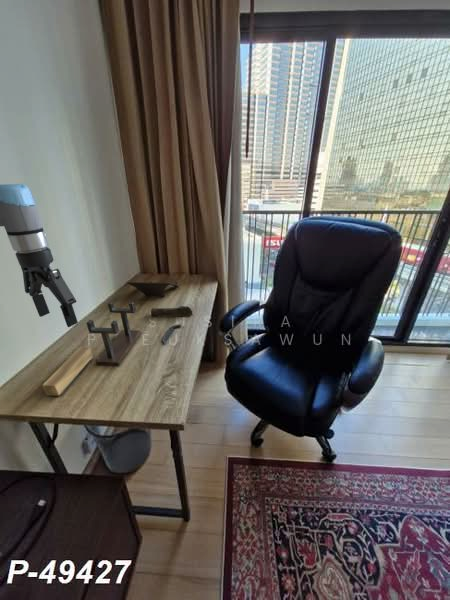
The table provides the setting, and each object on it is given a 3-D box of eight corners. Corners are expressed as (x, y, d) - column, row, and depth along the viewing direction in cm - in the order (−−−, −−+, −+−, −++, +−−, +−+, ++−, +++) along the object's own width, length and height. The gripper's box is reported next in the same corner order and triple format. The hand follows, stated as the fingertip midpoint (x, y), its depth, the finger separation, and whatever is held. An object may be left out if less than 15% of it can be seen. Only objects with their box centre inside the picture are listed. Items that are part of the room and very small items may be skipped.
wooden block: (47, 397, 75) (42, 385, 73) (83, 358, 91) (79, 347, 89) (60, 398, 75) (54, 385, 73) (93, 358, 91) (90, 347, 89)
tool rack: (94, 364, 88) (82, 326, 81) (120, 332, 106) (112, 298, 99) (121, 365, 87) (110, 327, 80) (142, 333, 105) (136, 299, 98)
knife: (173, 324, 110) (172, 323, 110) (181, 325, 110) (181, 324, 109) (159, 343, 98) (159, 342, 98) (169, 344, 97) (168, 343, 97)
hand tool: (151, 318, 117) (149, 309, 114) (153, 313, 120) (152, 305, 118) (191, 318, 116) (190, 309, 114) (192, 314, 119) (192, 305, 117)
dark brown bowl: (182, 297, 149) (182, 282, 149) (169, 297, 126) (170, 279, 126) (144, 296, 151) (145, 281, 151) (126, 295, 128) (126, 278, 128)
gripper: (76, 250, 63) (97, 322, 72) (21, 241, 73) (46, 305, 83) (46, 259, 57) (73, 336, 66) (-9, 247, 67) (21, 316, 77)
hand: (58, 319), depth 75 cm, fingers open, 13 cm apart
